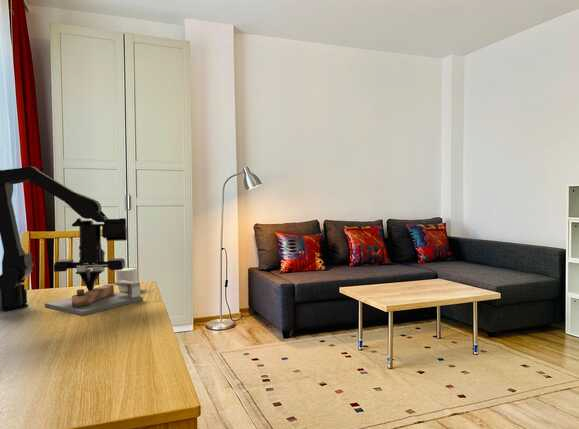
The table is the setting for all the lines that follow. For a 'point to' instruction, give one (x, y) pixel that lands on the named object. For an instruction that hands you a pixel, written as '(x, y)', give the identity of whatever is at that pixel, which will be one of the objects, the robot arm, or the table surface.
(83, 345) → the table surface
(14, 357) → the table surface
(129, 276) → the white pedestal piece
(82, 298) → the link
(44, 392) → the table surface
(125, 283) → the keeper
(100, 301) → the board
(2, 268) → the robot arm
